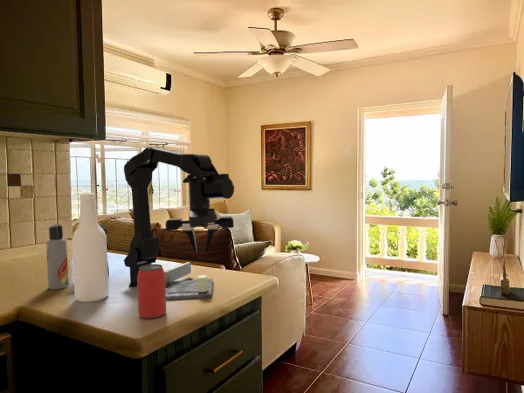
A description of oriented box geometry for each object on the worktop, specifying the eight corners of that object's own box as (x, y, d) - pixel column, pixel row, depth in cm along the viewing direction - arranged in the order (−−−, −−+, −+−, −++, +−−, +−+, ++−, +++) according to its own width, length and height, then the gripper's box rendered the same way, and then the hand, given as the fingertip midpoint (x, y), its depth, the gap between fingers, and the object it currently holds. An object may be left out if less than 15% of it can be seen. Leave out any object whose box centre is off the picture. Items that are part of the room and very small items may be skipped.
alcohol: (67, 301, 105) (62, 194, 104) (92, 292, 113) (87, 192, 112) (92, 304, 102) (87, 193, 101) (115, 294, 110) (111, 192, 109)
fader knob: (197, 292, 106) (197, 277, 106) (198, 289, 109) (198, 275, 109) (206, 291, 106) (206, 277, 106) (207, 288, 109) (206, 274, 109)
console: (156, 300, 104) (156, 296, 104) (165, 284, 120) (165, 281, 120) (211, 297, 105) (211, 293, 105) (212, 282, 121) (212, 278, 121)
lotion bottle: (72, 285, 122) (69, 223, 121) (57, 290, 116) (54, 226, 116) (59, 284, 124) (56, 223, 123) (44, 288, 118) (40, 225, 117)
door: (167, 284, 115) (167, 272, 115) (162, 283, 116) (162, 271, 116) (191, 273, 128) (191, 262, 128) (187, 273, 129) (186, 262, 129)
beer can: (142, 310, 96) (140, 264, 95) (168, 309, 96) (166, 263, 96) (135, 320, 89) (133, 270, 89) (163, 318, 90) (162, 269, 89)
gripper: (161, 201, 98) (163, 260, 98) (233, 198, 100) (235, 257, 100) (167, 199, 109) (169, 252, 110) (232, 197, 111) (233, 249, 111)
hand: (201, 253), depth 107 cm, fingers open, 3 cm apart
